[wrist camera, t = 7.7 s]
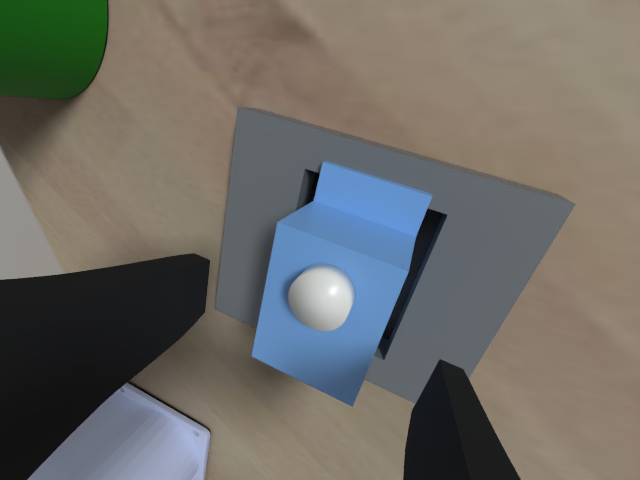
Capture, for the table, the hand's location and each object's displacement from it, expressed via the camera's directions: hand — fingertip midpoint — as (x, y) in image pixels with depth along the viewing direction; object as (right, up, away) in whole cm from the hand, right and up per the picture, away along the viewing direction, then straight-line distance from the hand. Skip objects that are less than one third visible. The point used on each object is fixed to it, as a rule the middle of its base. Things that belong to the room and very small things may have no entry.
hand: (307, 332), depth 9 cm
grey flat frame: (+2, +2, +5) cm, 6 cm away
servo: (+2, +2, +5) cm, 6 cm away
